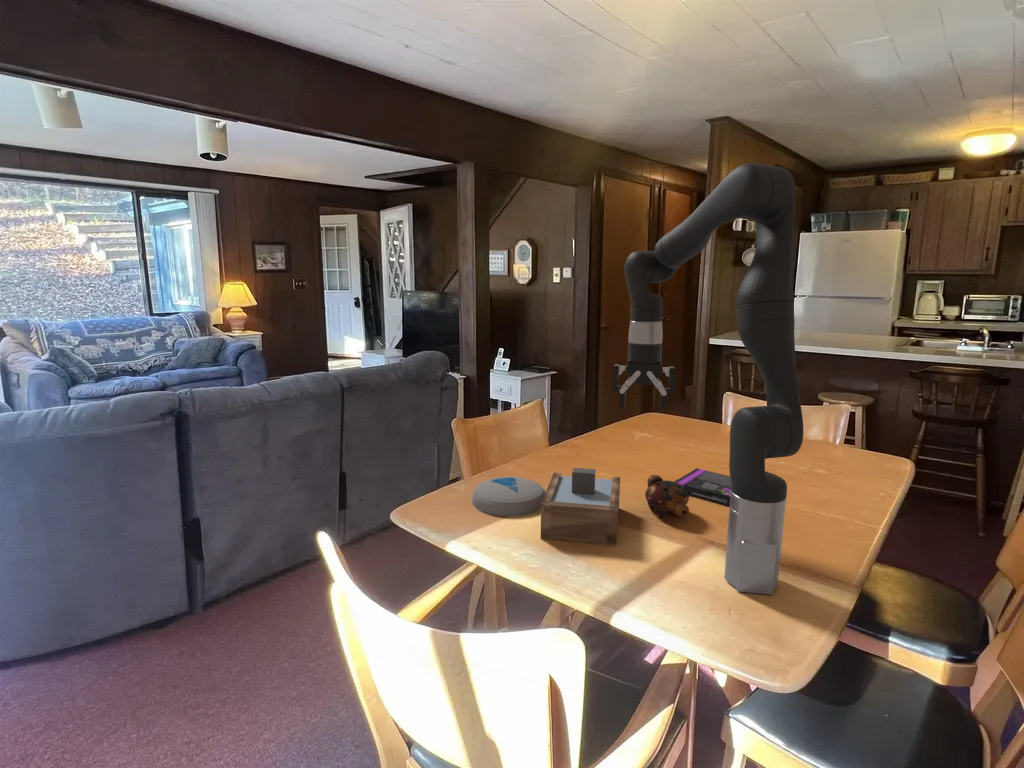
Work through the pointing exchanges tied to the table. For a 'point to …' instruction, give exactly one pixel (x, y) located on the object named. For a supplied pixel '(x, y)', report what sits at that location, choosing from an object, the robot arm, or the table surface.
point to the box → (707, 486)
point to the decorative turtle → (666, 497)
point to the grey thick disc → (508, 496)
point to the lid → (583, 488)
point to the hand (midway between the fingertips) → (642, 409)
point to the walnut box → (580, 518)
